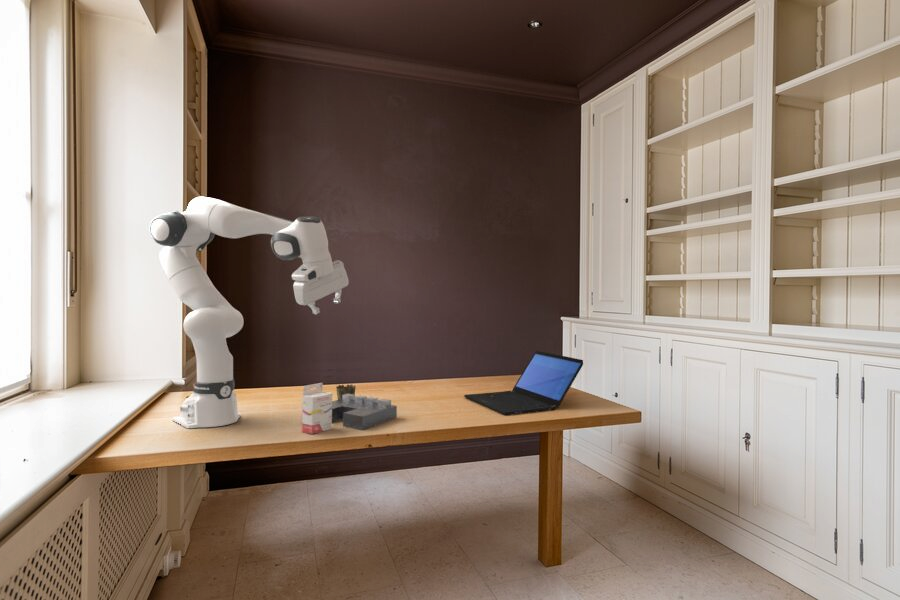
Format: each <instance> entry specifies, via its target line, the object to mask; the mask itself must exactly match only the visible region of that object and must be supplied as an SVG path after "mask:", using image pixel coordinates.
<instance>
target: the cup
mask: <svg viewBox="0 0 900 600" xmlns="http://www.w3.org/2000/svg"><path fill="white" fill-rule="evenodd" d="M356 387H357V386H356V385H353V384H348V383H347V385H345V386H344V384H342V385H341V384H338V385H336V388H335V389H336V396H337V400H340V399H342V395H344V394H355V393H356ZM355 395H356V394H355Z"/></svg>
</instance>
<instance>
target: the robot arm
mask: <svg viewBox="0 0 900 600" xmlns="http://www.w3.org/2000/svg"><path fill="white" fill-rule="evenodd" d="M260 234H261V235H262V234H263V235H271V239H270V247H271V248H270V249H271V250H272V252H273V254H274V255H275V257H276V258H278V259H280V260H282V261H291V260H294V259H297V258H300V259H301V261H302V264H301V265H300V266H299V267H298V268H297V269H296V270H295V271H293V272H292V274H291V280H292V281H294V282H293V285H292V287H293V294H294V298H295V302H296V303H297V304H298V305H300V306H308V307H309V308H310V309H311V310H312V315H313V314H314V315H317V314H319V313H321V311H320V308H319V307H316V301H318V300H321V299H323V298H324V297H326V296H329V295H331V294H333V293H335V295H334V297H333V298H332V300H333V303H334V304H336V305H338V304H340V303H341V301H342V300H341V296H342V292H343V291H342V289H344V288H346V287H347V286H349V283H350V281H349V278H348V274H347V271H346V269H345V265H344V263H343V262H344V261H341V260H339V259H337V260H334V261H333V260H332V256H331V255H332V254H331V253H330V251H329V250H330V249H329V240H328V236H327V231H326V228H325V225H324V223H323V222H322V219H321V218H319V217H317V216H314V215H307V216H306V215H304V216H299V217H297V218H296V219H295V220H289V219H287V218H283V217H280V216H275V215H272V214H268V213H263V212H260V211H256V210H252V209H248V208H245V207H242V206H238V205H236V204H233V203H230V202H227V201H224V200H221V199H217V198H213V197H206V196H197V197H195V198H193V199H192V200H190V202H189V203H188V206H187V208H186V210H185V211H183V212H180V211H179V210H174V211H171V212H170V211H169V212H164V213H162V214H159V215H156V216H155V217H154V218H152V220H151V221H150V225H149V235H150V236H151V238H152V240H153V241H154V242H155V243H156V244H157V245H158V244H159V245H161V246H165V247H163V248H162V250H160V252H159V254H158V256H159V257H158V258H159V260H160V264H161V267H162V269H163V271H164V273H165V276H166V278H167V280H168V281H169V283H170V285H171V287H172V288H173V290H174V292H175V293H176V295H177V296H178V298H179V299H180V302H182V303H183V304H185V305H186V306H187V307H189V308H190V309H191V310H192V311H191V312H189V313H188V314H187V315H186V316H185V318H184V320H183V331H184V333H185V335H186V336H187V337H188V338H190V340H191V343H192V346H193V350H194V353H195V360H196V381H195V382H193V384H192V387H193V390H192V393H191V394H190V395H188V397H187V398H186V399H185V400H183V401H182V402H181V404H180V405H181V406H179V407H180V409H179V410H180V414H179V415H175V416H174V417H172V421H173V420H174V421H175V423H176V422H177V423H176V424H178V423H179V424H178V425H180V424H181V425H180V426H182V427H184V428H187V429H196V428H197V429H198V428H215V427H216V428H217V427H222V426H226V425H231V424H234V423H236V422H237V421H239V418H241V413H240V412H239V410H238V400H237V394H236V393H235V384H236V383H235V379H234V357H233V355H232V354H231V352H230V350H229V347H228V345H227V344H228V343H227V338H231V337H233V336H234V335H236V334H238V333H239V332H240V331H241V330H242V329H243V327H244V317H243V314H242V313H241V312H240V311H239V310H237V309H236V308H235V307H233V306H232V304H231V303H229V302H228V300H227V299H226V298H225V297H224V296H223V295H222V294H221V292H220V291H218V289H217V288H216V287H215V285H214V284H213V282H212V281H211V279H210V277H209V276H208V273H206V271H205V269H204V267H203V265H202V264H201V262H200V261H199V259H198V258H197V254H196V253H197V252H202V251H203V250H204V249H205V248H206V247H207V245H209V244H210V243H211V242H212V241H213V239H214V238H215V236H216V235H217V236H220V237H223V238H228V239H240V238H244V237H248V236H254V235H260ZM174 421H173V422H174Z"/></svg>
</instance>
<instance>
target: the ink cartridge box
mask: <svg viewBox="0 0 900 600" xmlns="http://www.w3.org/2000/svg"><path fill="white" fill-rule="evenodd" d="M323 385H324V384H323V382H319V383H313V384H307V385H304V386H303V392H302V394H303V395H302V410H301V411H302V413H301V414H302V417H301V418H302V419H301V422H302V424H301V425H302V426H301V433H305V434H310V435H315V434H317V433H321V432H325V431H328V430H331V429H332V423H333V422H332V401H333V392H328V391H323ZM313 388H314V389H313Z"/></svg>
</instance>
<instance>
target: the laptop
mask: <svg viewBox="0 0 900 600" xmlns="http://www.w3.org/2000/svg"><path fill="white" fill-rule="evenodd" d="M583 366H584V360H583V359H580V358H575V357H570V356H566V355H565V356H564V355H561V354H554V353H550V352H545V351H540V350H536V351H535V352H534V354H533V355H532V357H531V359H530V360H529V361H528V363H527V365H526V367H525V368H524V369H523V372H521V375H520V376H519V379H518V380H517V381H516V382H515V385H514V386H513V388H512V390H504V391H495V392H494V391H493V392H484V393H482V392H481V393H471V394H470V393H469V394H463V395H464V396H463V397H464V398H466V399H467V400H469V399H470V401H472V402H475V403H476V402H477V403H476V404H479V405H481V406H483V407H485V406H486V408H487V407H488V409H490V410H491V411H495V412H496V411H497V412H496V413H499V414H501V415H504V416H511V415H510V414H514V415H520V413H522V414H529V413H528V412H531V413H537V412H536V411H539V412H546V411H545V410H551V411H554V410H556V408H558V409H559V407H560V405H561V403H562V402H563V400H564V399H565V397H566V395H567V393H568V392H569V390H570V388H571V387H572V385H573V383H574V382H575V379H576V378H577V376H578V374H579V373H580V370H581V369H582V367H583Z"/></svg>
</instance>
